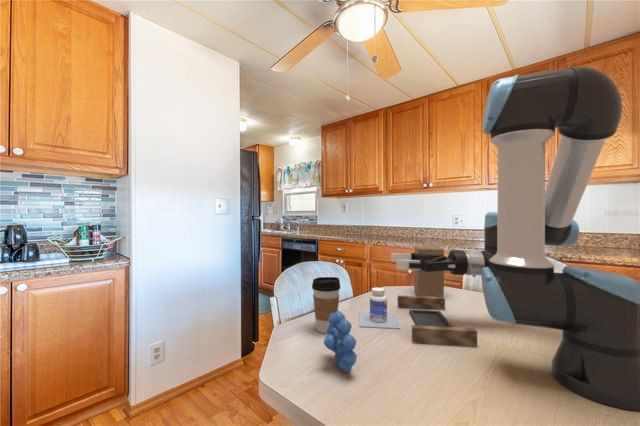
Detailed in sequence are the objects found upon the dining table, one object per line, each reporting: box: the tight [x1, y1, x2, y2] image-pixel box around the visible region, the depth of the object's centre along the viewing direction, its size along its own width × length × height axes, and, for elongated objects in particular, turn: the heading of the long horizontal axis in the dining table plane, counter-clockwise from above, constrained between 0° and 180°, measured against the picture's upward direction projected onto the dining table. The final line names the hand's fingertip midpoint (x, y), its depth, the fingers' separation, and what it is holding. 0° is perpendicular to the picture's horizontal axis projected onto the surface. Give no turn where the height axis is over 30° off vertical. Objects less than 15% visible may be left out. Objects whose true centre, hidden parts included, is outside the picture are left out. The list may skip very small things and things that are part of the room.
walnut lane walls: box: [397, 295, 478, 348], centre depth 90 cm, size 16×29×4 cm, turn 173°
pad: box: [358, 311, 401, 330], centre depth 92 cm, size 12×12×1 cm
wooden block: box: [413, 245, 445, 298], centre depth 118 cm, size 10×10×20 cm
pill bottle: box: [369, 287, 388, 322], centre depth 92 cm, size 5×5×10 cm
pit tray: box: [408, 309, 454, 327], centre depth 90 cm, size 10×16×1 cm, turn 173°
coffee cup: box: [311, 276, 341, 334], centre depth 85 cm, size 8×8×15 cm
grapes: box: [323, 310, 358, 373], centre depth 65 cm, size 12×7×12 cm, turn 22°
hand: (393, 260), depth 91 cm, fingers open, 13 cm apart
